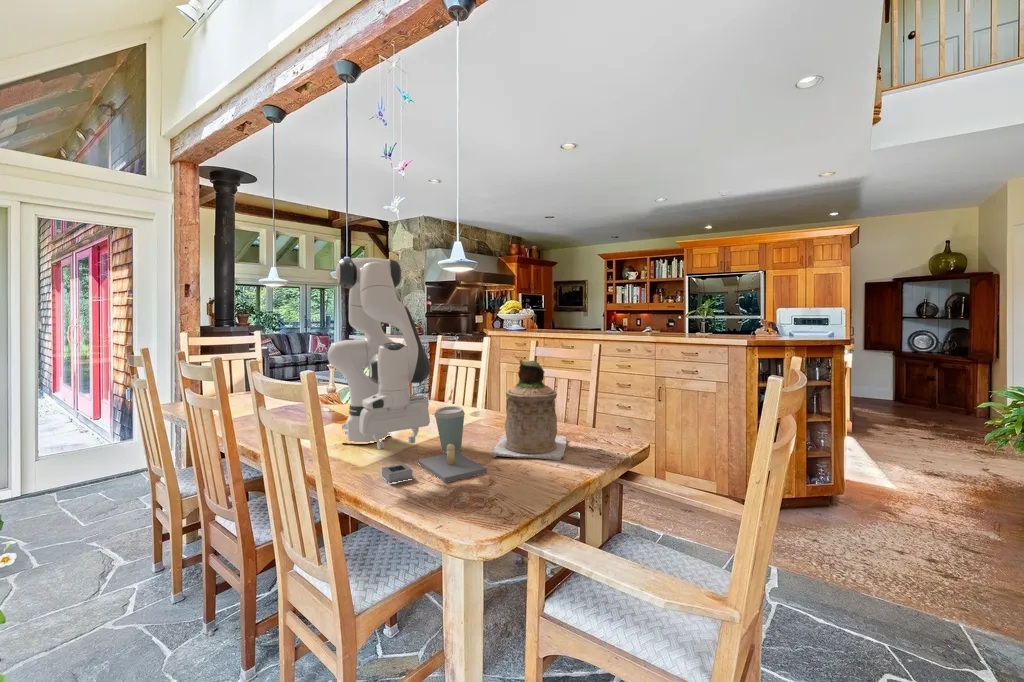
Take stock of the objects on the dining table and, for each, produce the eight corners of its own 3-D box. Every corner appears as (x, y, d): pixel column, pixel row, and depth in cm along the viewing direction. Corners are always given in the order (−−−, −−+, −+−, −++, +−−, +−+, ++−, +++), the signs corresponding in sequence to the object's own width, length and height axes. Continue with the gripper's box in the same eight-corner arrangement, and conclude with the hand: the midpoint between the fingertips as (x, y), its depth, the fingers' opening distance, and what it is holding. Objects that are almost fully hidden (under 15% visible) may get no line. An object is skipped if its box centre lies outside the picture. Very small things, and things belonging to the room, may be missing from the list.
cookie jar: (564, 461, 151) (563, 363, 149) (490, 459, 155) (487, 363, 153) (567, 440, 175) (566, 355, 173) (503, 438, 179) (501, 355, 177)
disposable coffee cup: (464, 455, 159) (462, 411, 158) (432, 455, 159) (431, 412, 158) (467, 446, 170) (466, 405, 169) (438, 446, 170) (436, 405, 169)
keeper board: (417, 464, 151) (417, 440, 150) (457, 456, 158) (456, 433, 158) (444, 483, 134) (443, 456, 133) (486, 472, 142) (486, 447, 141)
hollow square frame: (382, 478, 139) (381, 467, 138) (404, 473, 142) (403, 463, 142) (389, 485, 133) (389, 474, 133) (412, 480, 137) (412, 469, 136)
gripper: (424, 393, 144) (425, 437, 145) (356, 401, 133) (358, 449, 134) (432, 395, 139) (434, 441, 140) (362, 404, 128) (365, 454, 128)
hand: (396, 445), depth 137 cm, fingers open, 8 cm apart
